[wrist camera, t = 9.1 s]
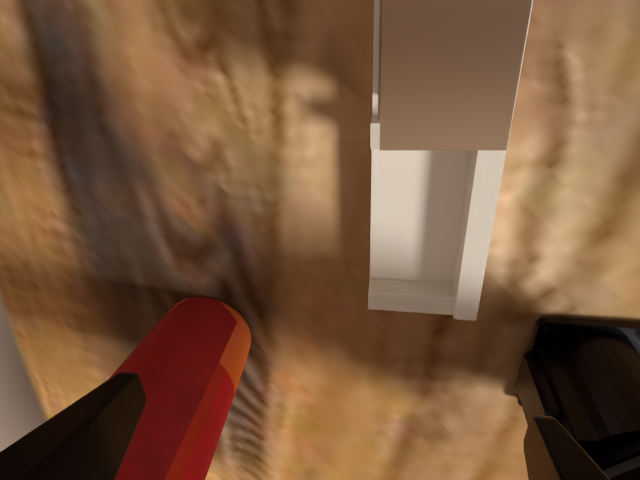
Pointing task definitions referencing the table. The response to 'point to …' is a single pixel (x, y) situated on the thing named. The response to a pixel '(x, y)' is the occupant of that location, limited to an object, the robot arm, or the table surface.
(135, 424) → the robot arm
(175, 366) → the paper cup
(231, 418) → the table surface
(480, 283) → the white tray base
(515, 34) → the tall taupe pillar block
